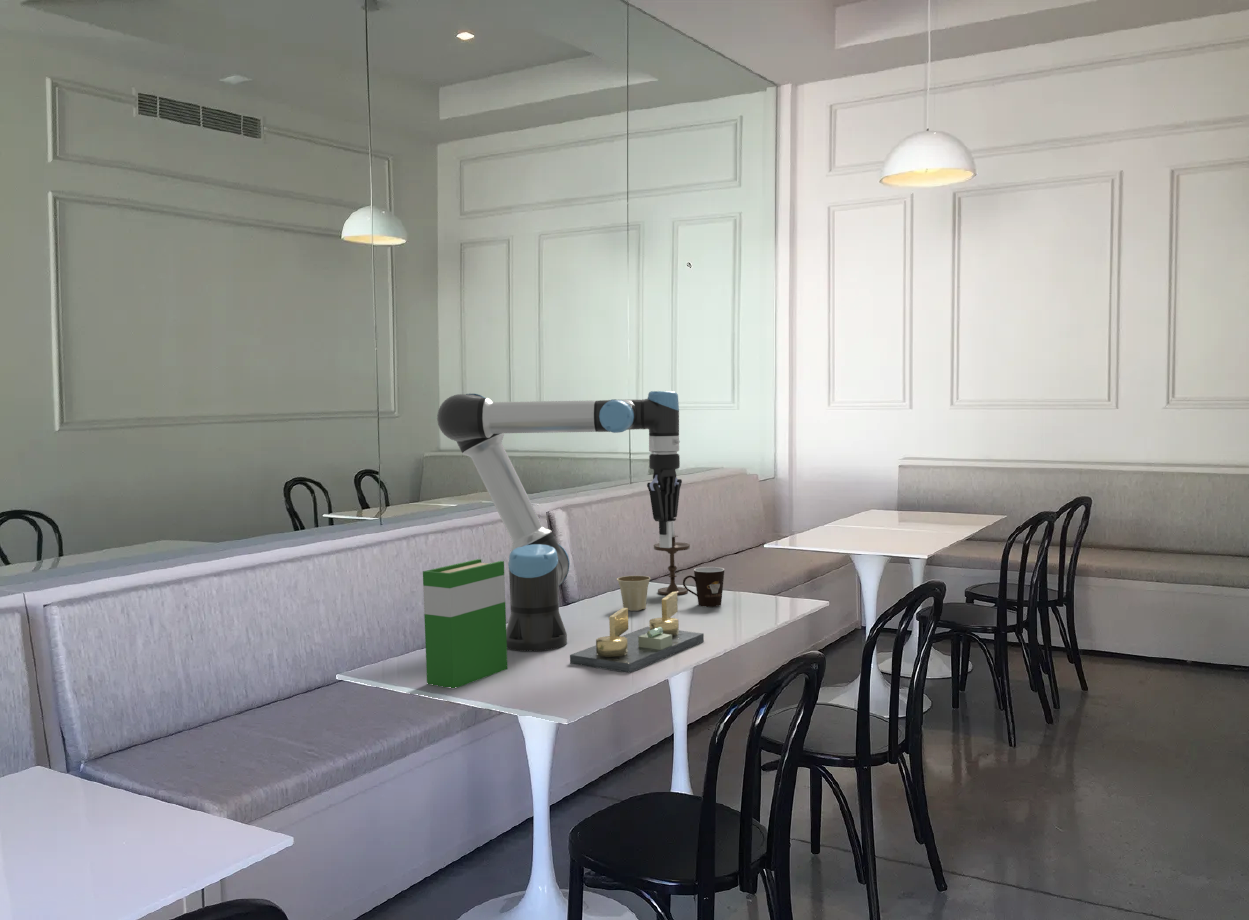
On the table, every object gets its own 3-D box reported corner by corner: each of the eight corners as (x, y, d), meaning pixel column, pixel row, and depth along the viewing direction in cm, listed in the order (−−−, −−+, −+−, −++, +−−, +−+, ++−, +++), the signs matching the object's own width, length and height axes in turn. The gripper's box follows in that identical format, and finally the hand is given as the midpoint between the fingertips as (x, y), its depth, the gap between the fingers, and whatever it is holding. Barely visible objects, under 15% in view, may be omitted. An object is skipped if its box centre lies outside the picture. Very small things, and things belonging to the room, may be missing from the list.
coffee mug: (725, 601, 301) (724, 566, 300) (725, 607, 292) (724, 572, 292) (684, 601, 302) (683, 567, 301) (683, 608, 293) (682, 572, 293)
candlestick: (649, 591, 319) (646, 476, 317) (682, 588, 323) (679, 474, 321) (663, 597, 309) (660, 478, 307) (696, 594, 313) (694, 476, 311)
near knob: (622, 657, 231) (621, 621, 231) (592, 655, 233) (591, 620, 233) (640, 642, 244) (639, 608, 244) (612, 641, 247) (611, 607, 246)
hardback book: (481, 664, 237) (478, 559, 235) (507, 668, 233) (503, 561, 231) (427, 684, 222) (422, 571, 221) (453, 688, 218) (449, 573, 217)
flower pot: (612, 607, 296) (611, 577, 296) (642, 604, 300) (641, 574, 300) (626, 613, 288) (625, 582, 287) (657, 609, 292) (656, 579, 291)
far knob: (674, 636, 249) (673, 603, 249) (646, 635, 251) (645, 602, 251) (689, 624, 262) (688, 592, 262) (662, 622, 265) (661, 591, 264)
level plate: (629, 672, 227) (628, 645, 227) (570, 663, 236) (569, 637, 236) (703, 641, 253) (703, 617, 253) (647, 634, 262) (647, 610, 262)
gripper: (663, 454, 254) (664, 551, 256) (690, 451, 265) (692, 544, 267) (637, 454, 259) (638, 549, 260) (665, 451, 269) (666, 542, 271)
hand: (665, 547), depth 263 cm, fingers closed
